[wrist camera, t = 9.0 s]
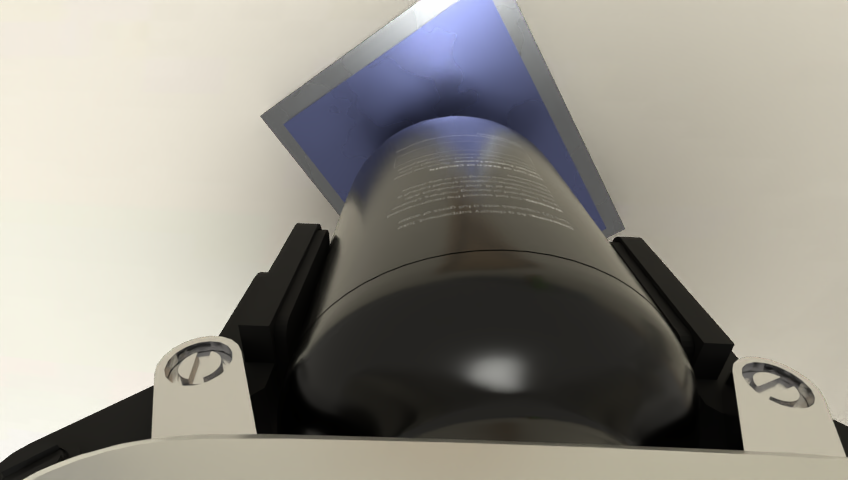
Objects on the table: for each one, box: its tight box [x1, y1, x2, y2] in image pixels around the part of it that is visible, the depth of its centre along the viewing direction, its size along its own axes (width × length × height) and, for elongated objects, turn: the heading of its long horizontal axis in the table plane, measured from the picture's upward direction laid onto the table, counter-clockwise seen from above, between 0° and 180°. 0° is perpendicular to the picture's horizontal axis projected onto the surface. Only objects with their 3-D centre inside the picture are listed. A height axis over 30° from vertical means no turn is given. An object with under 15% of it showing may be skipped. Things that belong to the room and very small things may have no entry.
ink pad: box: [260, 0, 625, 238], centre depth 19 cm, size 12×10×2 cm
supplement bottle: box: [277, 116, 701, 449], centre depth 9 cm, size 7×7×12 cm
